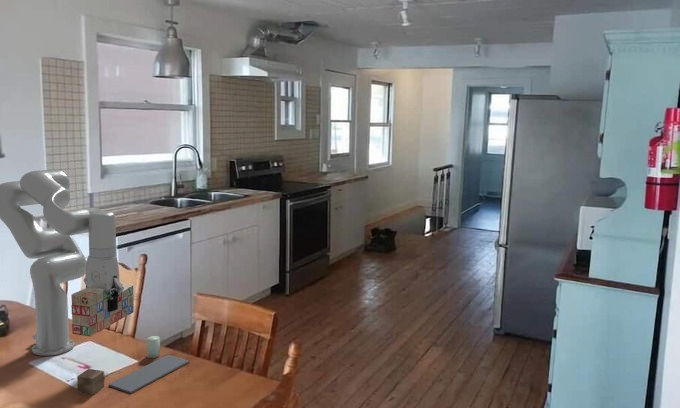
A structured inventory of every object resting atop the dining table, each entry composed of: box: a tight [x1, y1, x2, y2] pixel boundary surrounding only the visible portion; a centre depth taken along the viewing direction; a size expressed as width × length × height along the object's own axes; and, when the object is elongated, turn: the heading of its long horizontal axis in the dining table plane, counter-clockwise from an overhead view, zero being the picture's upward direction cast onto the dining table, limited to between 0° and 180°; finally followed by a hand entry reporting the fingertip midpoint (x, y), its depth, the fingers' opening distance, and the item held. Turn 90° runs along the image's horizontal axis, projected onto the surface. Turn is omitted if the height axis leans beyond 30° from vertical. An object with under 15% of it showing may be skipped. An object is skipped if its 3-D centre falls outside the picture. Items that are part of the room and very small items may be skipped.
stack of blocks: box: [70, 283, 135, 337], centre depth 169 cm, size 21×6×12 cm, turn 167°
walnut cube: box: [76, 368, 105, 396], centre depth 157 cm, size 5×5×5 cm
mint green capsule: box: [146, 335, 161, 359], centre depth 181 cm, size 4×4×6 cm
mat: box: [108, 354, 190, 394], centre depth 168 cm, size 9×24×1 cm, turn 154°
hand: (103, 307), depth 169 cm, fingers closed on stack of blocks, 7 cm apart
